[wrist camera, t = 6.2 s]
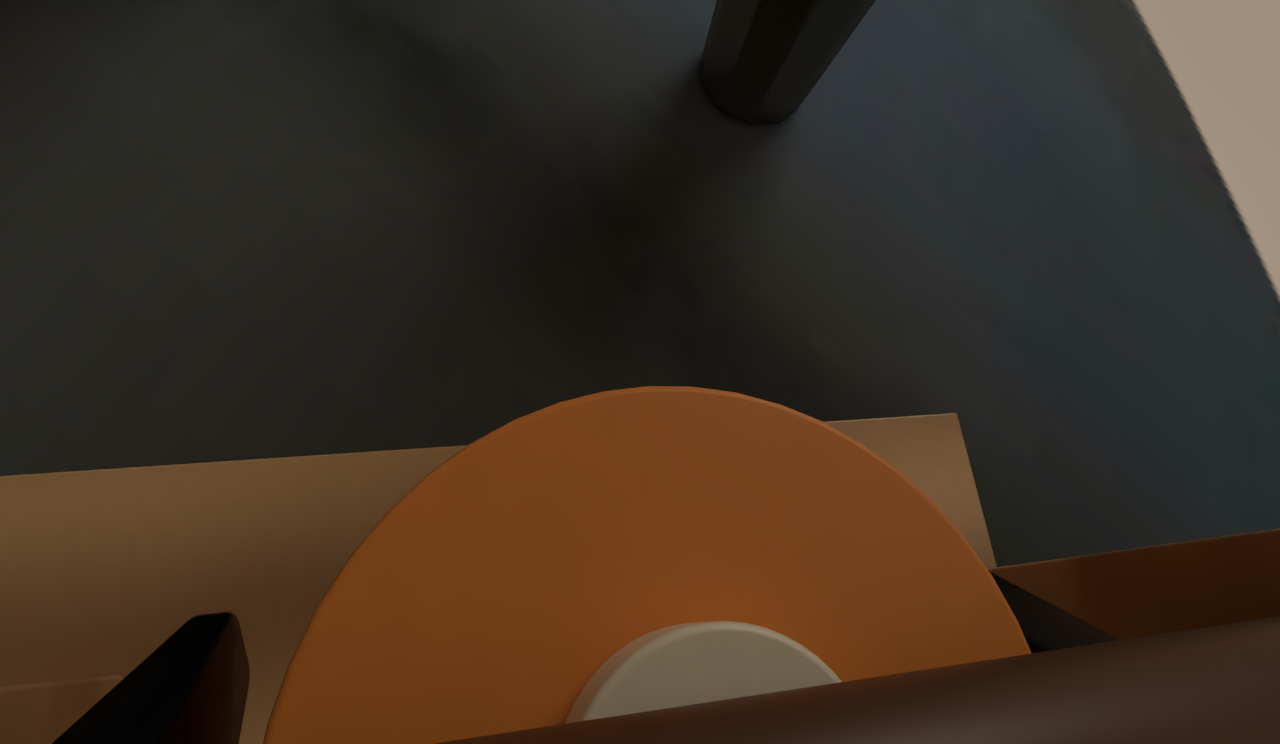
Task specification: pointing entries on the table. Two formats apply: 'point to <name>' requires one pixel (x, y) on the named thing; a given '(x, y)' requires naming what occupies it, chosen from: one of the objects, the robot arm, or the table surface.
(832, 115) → the table surface
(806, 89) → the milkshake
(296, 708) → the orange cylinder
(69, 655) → the rack
